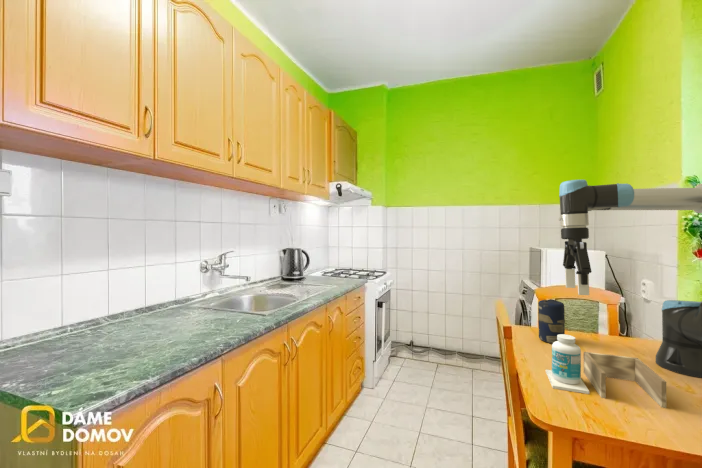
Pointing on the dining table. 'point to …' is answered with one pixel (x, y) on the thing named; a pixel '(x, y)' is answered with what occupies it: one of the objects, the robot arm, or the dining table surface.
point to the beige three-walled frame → (623, 374)
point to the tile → (569, 387)
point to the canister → (550, 320)
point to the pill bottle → (566, 360)
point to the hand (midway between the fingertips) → (576, 291)
